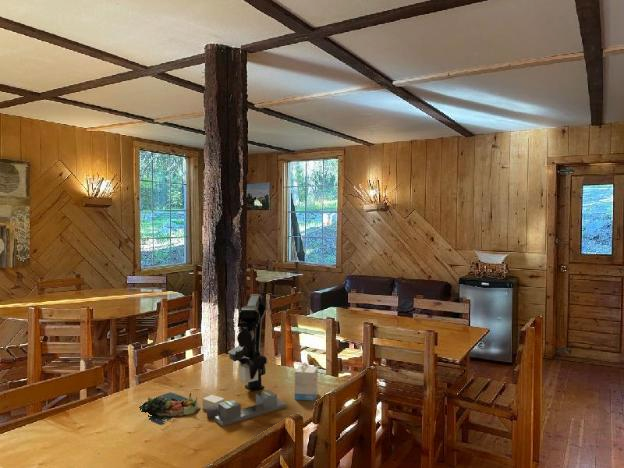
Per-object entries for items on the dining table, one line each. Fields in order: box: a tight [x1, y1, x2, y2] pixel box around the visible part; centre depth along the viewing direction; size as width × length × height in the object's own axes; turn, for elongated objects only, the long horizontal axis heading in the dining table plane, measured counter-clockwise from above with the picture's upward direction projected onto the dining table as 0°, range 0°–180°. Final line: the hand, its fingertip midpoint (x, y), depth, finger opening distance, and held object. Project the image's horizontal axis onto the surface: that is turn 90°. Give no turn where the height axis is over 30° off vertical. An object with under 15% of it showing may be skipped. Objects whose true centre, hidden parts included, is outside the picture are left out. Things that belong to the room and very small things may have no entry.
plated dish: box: [139, 392, 201, 426], centre depth 177 cm, size 35×28×7 cm
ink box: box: [294, 361, 319, 402], centre depth 191 cm, size 9×8×13 cm
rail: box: [214, 389, 287, 427], centre depth 173 cm, size 6×28×6 cm, turn 128°
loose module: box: [238, 363, 258, 384], centre depth 184 cm, size 5×6×6 cm
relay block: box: [202, 394, 226, 411], centre depth 178 cm, size 7×5×4 cm
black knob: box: [206, 406, 218, 420], centre depth 171 cm, size 4×4×3 cm
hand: (248, 377), depth 185 cm, fingers closed on loose module, 5 cm apart
